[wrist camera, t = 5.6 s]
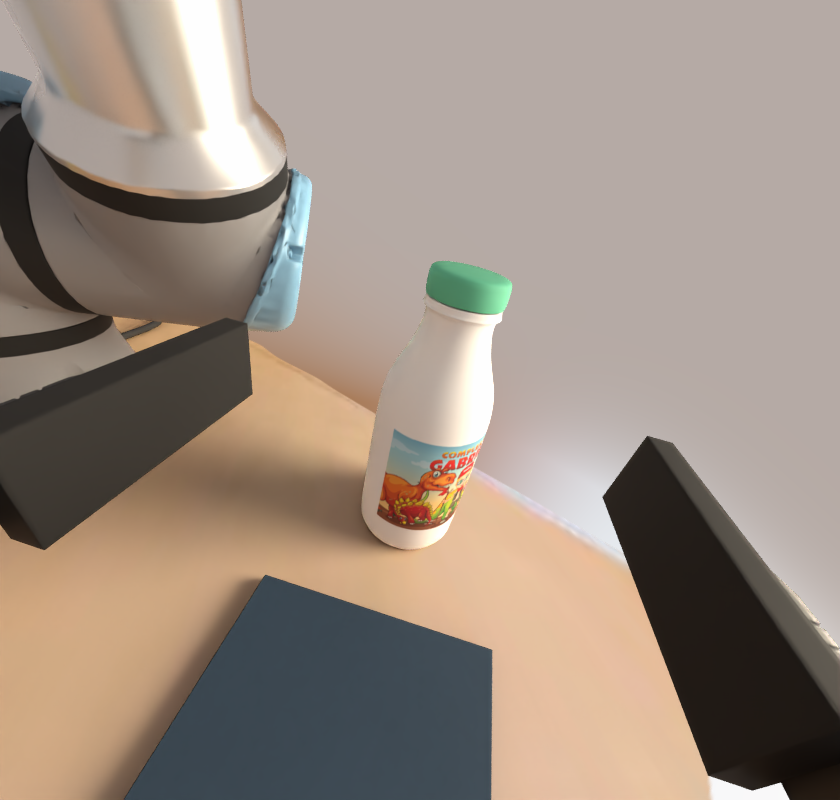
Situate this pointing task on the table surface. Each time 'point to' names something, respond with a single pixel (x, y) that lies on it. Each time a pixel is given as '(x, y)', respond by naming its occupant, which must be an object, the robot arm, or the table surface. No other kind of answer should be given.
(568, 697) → the table surface
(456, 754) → the placemat
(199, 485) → the table surface
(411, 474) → the milk bottle
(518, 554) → the table surface
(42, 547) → the robot arm
